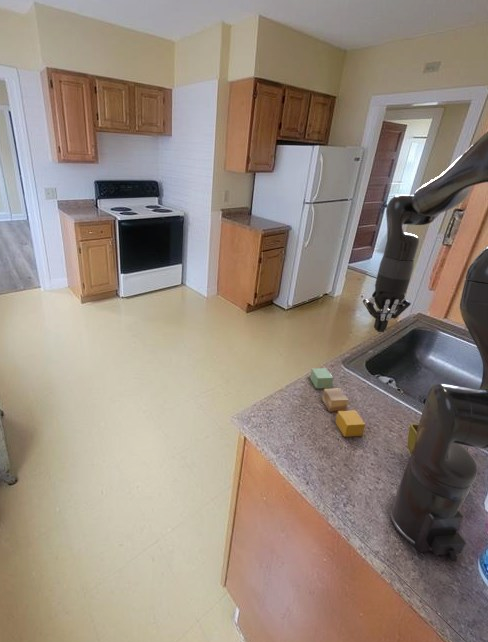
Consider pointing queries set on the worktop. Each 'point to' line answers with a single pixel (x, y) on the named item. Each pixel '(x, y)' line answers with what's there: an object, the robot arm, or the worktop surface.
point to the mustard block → (350, 423)
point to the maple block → (335, 399)
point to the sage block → (321, 378)
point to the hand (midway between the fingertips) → (379, 330)
